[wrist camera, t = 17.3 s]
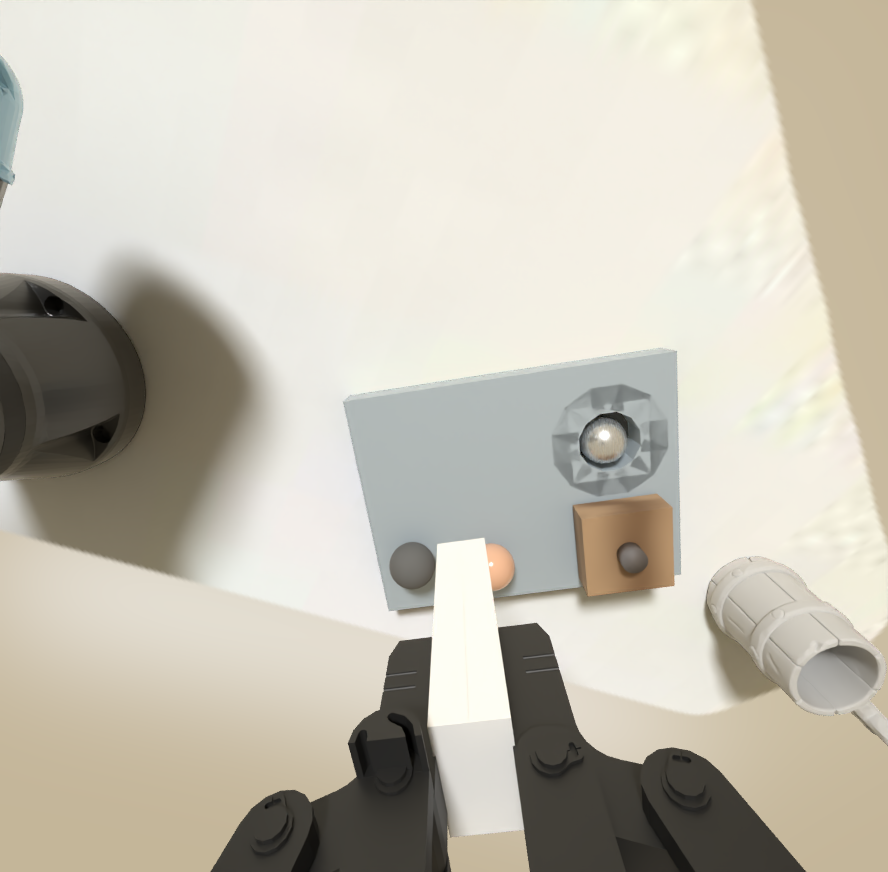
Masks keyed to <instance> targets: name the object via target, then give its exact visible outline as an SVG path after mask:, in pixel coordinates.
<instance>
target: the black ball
mask: <svg viewBox="0 0 888 872" xmlns="http://www.w3.org/2000/svg"><path fill="white" fill-rule="evenodd" d="M389 569H390V574H391V576H392V578H393V580H394V581H395V582H396V583H397V584H398V585H399V586H401V587H403V588H406V589H418V588H421V587H423V586H425V585H426V584H427V583H428V582H429V581H430V580H431V578H432V576H433V574H434V571H435V560H434V556H433V554H432V553H431V551H430V550H429V549H428V548H427V547H426V546H425V545H423V544H421V543H418V542H408V543H405V544H402V545H401V546H399V547H398V548H397V549H396V550H395V551H394V553H393V554H392V556H391V559H390V564H389Z"/></svg>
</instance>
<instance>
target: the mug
mask: <svg viewBox="0 0 888 872" xmlns="http://www.w3.org/2000/svg"><path fill="white" fill-rule="evenodd" d="M712 580H713V581H710V583H709V589H708V595H707V604H708V607H709V609H710V611H711V613H712V616H713V618H714V620H715V622H716V624H717V625H718V627H719V628H720V629H721V630H722V631H723V632H724V633H725V634H726V635H727V636H728V637H730V638H732V639H733V640H735V641H736V642H738V643H740V645H741V646H742V647H743V648H744V649H745V650H746V651H747V652H748V653H749V654H750V655H751V656H752V659H753V661H754V663H755V664H756V666H757V667H758V668H759V670H760V671H761V672H762V673H763V674H764V675H765V676H766V677H767V678H768V679H769V680H771V681H773V682H774V683H776V684H778V685H779V686H780V687H781V688H782V689H783V690H784V692H785V693H786V694H787V695H788V696H789V697H790V698H791V699H792V700H793V701H794V702H795V703H796V704H797V705H798V706H799V707H801V708H802V709H803V710H805V711H807V712H810V713H813V714H817V715H823V716H834V713H835V714H839V715H840V714H846V713H849V712H851V713H852V714H853V715H854V716H855V717H857V718H858V719H859V720H860V721H861V722H862V723H863V724H864V726H866V728H868V729H869V730H870V731H871V732H872V733H873V734H875V735H877V736H878V737H879V738H880V739H881V740H883V742H884V743H885V744H886V745H887V746H888V719H887V718H886V717H885V716H884V715H883V714H882V713H881V712H880V711H879V710H878V709H877V707H875V705H874V704H873V703H872V702H870V700H871V699H872V697H873V696H874V695H875V694H876V693H877V691H876V690H880V689H881V686H882V685H883V682H884V678H885V674H886V662H885V659H884V657H883V655H882V654H881V653H880V651H879V650H878V649H877V648H876V647H875V646H874V645H873V644H871V643H870V642H869V641H868V640H867V639H866V638H865V637H863V636H862V635H861V634H860V633H859V632H858V631H856V630H855V629H854V627H853V625H852V623H851V622H850V621H849V619H848V618H847V617H846V616H845V615H843V614H842V613H841V612H840V611H838V610H837V609H836V608H834V607H833V606H832V605H831V604H829V603H827V602H823V601H821V600H820V599H819V598H818V597H817V596H816V595H815V594H813V593H812V592H811V591H810V590H809V589H808V588H807V586H806V584H805V582H804V581H803V579H802V578H801V577H800V576H799V575H798V574H797V573H795V572H794V571H793V570H791V569H790V568H788V567H787V566H785V565H783V564H780V563H777V562H774V561H772V560H770V559H767V558H764V557H759V556H755V557H750V558H749V559H747V558H746V557H743V558H739V559H736V560H734V561H732V562H730V563H728V564H727V565H725V566H723V567H722V568H721V569H720V570H719V571H718V572H717V573H716V574H715V575H714V577H713V578H712Z"/></svg>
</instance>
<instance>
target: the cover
mask: <svg viewBox="0 0 888 872" xmlns="http://www.w3.org/2000/svg"><path fill="white" fill-rule="evenodd" d="M573 516H574V527H575V539H576V550H577V562H578V573H579V579H580V581H581V583H582V585H583V587H584V589H585V592H586V594H587V596H596V595H604V594H612V593H620V592H628V591H636V590H644V589H652V588H660V587H668V586H674V547H673V507H672V506H670V505H669V504H668V503H667V502H666V501H665V500H664V499H663V498H662V497H660V496H659V495H658V494H650V495H643V496H635V497H628V498H621V499H613V500H606V501H598V502H591V503H584V504H576V505H573Z"/></svg>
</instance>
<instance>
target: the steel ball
mask: <svg viewBox="0 0 888 872" xmlns="http://www.w3.org/2000/svg"><path fill="white" fill-rule="evenodd" d="M627 444H628V437H627V433H626V431H625V429H624V428H623V426H622V425H621V424H620V423H619V422H617V421H615V420H613V419H611V418H605V417H601V418H596V419H593V420H591V421H590V422H588V423H587V424H586V425H585V427H584V429H583V432H582V434H581V436H580V438H579V445H580V449H581V451H582V452H583V454H584V455H585V456H586V457H587V458H588V459H590V460H591V461H594V462H596V463H610V462H613V461H615V460H617V459H618V458H620V457H621V456H622V455H623V453H624V452H625V450H626V448H627Z"/></svg>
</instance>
